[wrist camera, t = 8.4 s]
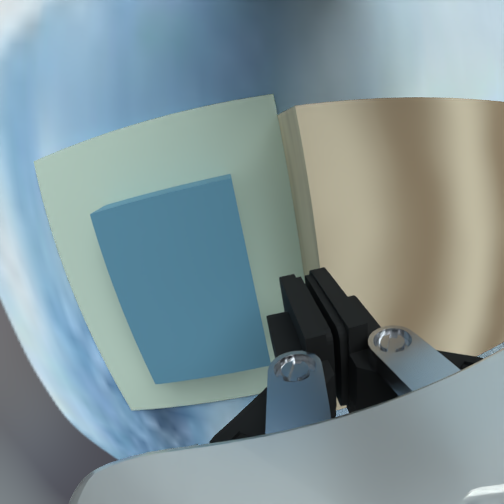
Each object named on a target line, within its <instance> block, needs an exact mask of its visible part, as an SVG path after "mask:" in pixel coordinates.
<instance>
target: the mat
mask: <svg viewBox="0 0 504 504" xmlns="http://www.w3.org/2000/svg"><path fill="white" fill-rule="evenodd" d="M34 165H35V170H36V174H37V179H38V183H39V187H40V191H41V195H42V199H43V203H44V207H45V210H46V214H47V217H48V221H49V224H50V227H51V231H52V234H53V237H54V240H55V243H56V246H57V249H58V252H59V255H60V258H61V261H62V264H63V267H64V269H65V272H66V275H67V278H68V280H69V283H70V285H71V288H72V291H73V293H74V296H75V298H76V300H77V303H78V305H79V308H80V310H81V312H82V315H83V317H84V319H85V322H86V324H87V326H88V328H89V330H90V333H91V335H92V337H93V339H94V341H95V343H96V345H97V347H98V349H99V351H100V353H101V355H102V357H103V359H104V361H105V363H106V365H107V367H108V369H109V371H110V373H111V375H112V377H113V378H114V380H115V382H116V384H117V386H118V388H119V389H120V391H121V393H122V395H123V396H124V398H125V400H126V402H127V403H128V405H129V407H130V408H131V410H145V409H157V408H167V407H177V406H186V405H194V404H201V403H209V402H215V401H222V400H228V399H234V398H240V397H246V396H251V395H256V394H260V393H261V392H262V391H263V390H264V389H265V388H266V387H267V377H268V368H269V366H266V367H261V368H256V369H251V370H246V371H240V372H235V373H230V374H224V375H218V376H212V377H206V378H200V379H193V380H186V381H179V382H172V383H164V384H155V382H154V380H153V378H152V376H151V374H150V372H149V370H148V368H147V366H146V364H145V361H144V359H143V357H142V355H141V353H140V350H139V348H138V346H137V344H136V341H135V339H134V337H133V334H132V332H131V330H130V327H129V325H128V323H127V320H126V318H125V315H124V313H123V310H122V308H121V305H120V303H119V300H118V297H117V295H116V292H115V289H114V287H113V284H112V281H111V278H110V276H109V273H108V270H107V267H106V264H105V261H104V258H103V255H102V252H101V249H100V246H99V243H98V240H97V237H96V233H95V230H94V227H93V224H92V220H91V217H90V214H91V213H93V212H95V211H96V210H98V209H100V208H101V207H103V206H105V205H108V204H111V203H115V202H118V201H122V200H125V199H129V198H132V197H136V196H140V195H143V194H147V193H151V192H155V191H159V190H163V189H167V188H171V187H175V186H179V185H183V184H187V183H191V182H196V181H200V180H204V179H209V178H213V177H218V176H222V175H227V174H231V178H232V183H233V188H234V192H235V197H236V202H237V207H238V211H239V216H240V221H241V226H242V230H243V235H244V240H245V245H246V249H247V254H248V259H249V263H250V268H251V273H252V278H253V282H254V287H255V292H256V296H257V301H258V306H259V310H260V315H261V320H262V324H263V329H264V334H265V338H266V343H267V348H268V352H269V357H270V361H271V362H272V361H273V360H274V359H275V356H274V352H273V347H272V343H271V338H270V333H269V328H268V323H267V318H266V316H268V315H272V314H277V313H281V312H284V306H283V300H282V294H281V288H280V282H279V277H282V276H286V275H291V274H294V275H295V276H296V277H300V276H301V278H302V279H303V281H304V283H305V279H304V272H303V265H302V258H301V251H300V244H299V237H298V231H297V224H296V218H295V211H294V205H293V199H292V193H291V187H290V181H289V175H288V170H287V164H286V158H285V153H284V147H283V142H282V136H281V131H280V126H279V121H278V115H277V110H276V105H275V100H274V95H273V94H269V95H263V96H256V97H250V98H244V99H239V100H233V101H228V102H223V103H218V104H213V105H208V106H204V107H199V108H195V109H190V110H186V111H182V112H178V113H174V114H170V115H166V116H163V117H159V118H155V119H152V120H148V121H145V122H141V123H138V124H134V125H131V126H128V127H125V128H121V129H118V130H115V131H112V132H109V133H106V134H103V135H100V136H97V137H94V138H92V139H89V140H86V141H83V142H81V143H78V144H75V145H73V146H70V147H68V148H65V149H62V150H60V151H57V152H55V153H53V154H50V155H48V156H45V157H43V158H41V159H38V160H36V161H34Z"/></svg>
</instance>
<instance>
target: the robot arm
mask: <svg viewBox="0 0 504 504" xmlns="http://www.w3.org/2000/svg"><path fill="white" fill-rule="evenodd" d="M279 282H280V288H281V294H282V300H283V306H284V312H281V313H277V314H272V315H268V316H266V318H267V323H268V328H269V333H270V338H271V343H272V347H273V352H274V356H275V359H274V360H273V361H272V362H271V363H270V365H269V368H268V377H267V387H266V388H265V389H264V390H263V391H262V392H261V393H260V394H259V395H258V396H257V397H256V398H255V399H254V400H253V401H252V402H251V403H250V404H249V405H248V406H246V407H245V408H244V409H243V410H242V411H241V412H240V413H239V414H238V415H237V416H236V417H235V418H234V419H233V420H231V421H230V422H229V423H228V424H227V425H226V426H225V427H224V428H223V429H222V430H220V431H219V432H218V433H217V434H216V435H215V436H214V437H213V438H212V440H211V441H210V443H209V444H203V445H198V444H195V445H191V446H188V447H180V448H171V449H165V450H159V451H153V452H147V453H143V454H139V455H134V456H130V457H126V458H123V459H120V460H117V461H115V462H112V463H109V464H107V465H104V466H102V467H100V468H98V469H96V470H94V471H92V472H91V473H90V474H89V475H87V476H86V477H85V478H84V479H83V480H82V481H81V482H80V484H79V485H78V487H77V488H76V490H75V491H74V493H73V495H72V498H71V500H70V502H69V504H504V348H503V349H501V350H499V351H497V352H496V353H494V354H492V355H490V356H488V357H486V358H484V359H483V358H480V357H476V356H470V355H463V354H457V353H451V352H445V351H439V350H436V349H434V348H433V347H432V346H431V345H429V344H428V343H427V342H426V341H424V340H423V339H422V338H421V337H419V336H418V335H417V334H416V333H414V332H413V331H412V330H410V329H408V328H406V327H403V326H397V325H390V326H384V327H381V326H380V325H379V324H378V323H377V321H376V320H375V319H374V318H373V316H372V315H371V314H370V313H369V312H368V310H367V309H366V308H365V307H364V305H363V304H362V303H361V302H360V300H359V299H358V298H357V297H356V296H355V295H352V296H347V295H346V294H345V292H344V291H343V290H342V289H341V287H340V286H339V285H338V283H337V282H336V281H335V280H334V278H333V277H332V276H331V274H330V273H329V272H328V271H327V269H326V268H325V267H322V268H318V269H314V270H310V271H309V275H305V283H304V281H303V279H302V278H301V276H300V277H296V276H295V275H294V274H291V275H286V276H282V277H279ZM336 397H337V399H338V402H339V404H340V406H344V405H346V407H347V409H348V411H349V414H345V415H342V416H338V417H335V416H336V407H337V402H336Z"/></svg>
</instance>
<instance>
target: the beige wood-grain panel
mask: <svg viewBox="0 0 504 504" xmlns="http://www.w3.org/2000/svg"><path fill="white" fill-rule="evenodd" d="M278 121H279V126H280V131H281V136H282V142H283V147H284V153H285V158H286V164H287V170H288V175H289V181H290V187H291V193H292V199H293V205H294V211H295V218H296V224H297V231H298V237H299V244H300V251H301V258H302V265H303V272H304V279H305V275H309V271H310V270H314V269H318V268H322V267H325V268H326V269H327V271H328V272H329V273H330V274H331V276H332V277H333V278H334V280H335V281H336V282H337V283H338V285H339V286H340V287H341V289H342V290H343V291H344V292H345V294H346V295H347V296H352V295H355V296H356V297H357V298H358V299H359V300H360V302H361V303H362V304H363V305H364V307H365V308H366V309H367V310H368V312H369V313H370V314H371V315H372V316H373V318H374V319H375V320H376V321H377V323H378V324H379V325H380V326H381V327H384V326H390V325H397V326H403V327H406V328H408V329H410V330H412V331H413V332H414V333H416V334H417V335H418V336H419V337H421V338H422V339H423V340H424V341H426V342H427V343H428V344H429V345H431V346H432V347H433V348H434V349H436V350H439V351H445V352H451V353H457V354H463V355H470V356H478V355H480V354H482V353H484V352H486V351H488V350H490V349H492V348H494V347H495V346H497V345H499V344H501V343H503V342H504V102H500V101H489V100H477V99H460V98H425V97H412V98H376V99H358V100H344V101H333V102H322V103H313V104H304V105H296V106H293V107H292V108H290V109H288V110H286V111H284V112H282V113H280V114H279V115H278ZM336 402H337V407H336V410H340V409H343V408H346V405H344V406H340V404H339V402H338V399H337V397H336Z"/></svg>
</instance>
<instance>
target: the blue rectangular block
mask: <svg viewBox="0 0 504 504" xmlns="http://www.w3.org/2000/svg"><path fill="white" fill-rule="evenodd" d="M90 217H91V220H92V224H93V227H94V230H95V233H96V237H97V240H98V243H99V246H100V249H101V252H102V255H103V258H104V261H105V264H106V267H107V270H108V273H109V276H110V278H111V281H112V284H113V287H114V289H115V292H116V295H117V297H118V300H119V303H120V305H121V308H122V310H123V313H124V315H125V318H126V320H127V323H128V325H129V327H130V330H131V332H132V334H133V337H134V339H135V341H136V344H137V346H138V348H139V350H140V353H141V355H142V357H143V359H144V361H145V364H146V366H147V368H148V370H149V372H150V374H151V376H152V378H153V380H154V382H155V384H164V383H172V382H179V381H186V380H193V379H200V378H206V377H212V376H218V375H224V374H230V373H235V372H240V371H246V370H251V369H256V368H261V367H266V366H269V365H270V363H271V361H270V357H269V352H268V348H267V343H266V338H265V334H264V329H263V324H262V320H261V315H260V310H259V306H258V301H257V296H256V292H255V287H254V282H253V278H252V273H251V268H250V263H249V259H248V254H247V249H246V245H245V240H244V235H243V230H242V226H241V221H240V216H239V211H238V207H237V202H236V197H235V192H234V188H233V183H232V178H231V174H227V175H222V176H218V177H213V178H209V179H204V180H200V181H196V182H191V183H187V184H183V185H179V186H175V187H171V188H167V189H163V190H159V191H155V192H151V193H147V194H143V195H140V196H136V197H132V198H129V199H125V200H122V201H118V202H115V203H111V204H108V205H105V206H103V207H101V208H100V209H98V210H96V211H95V212H93V213H91V214H90Z"/></svg>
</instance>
